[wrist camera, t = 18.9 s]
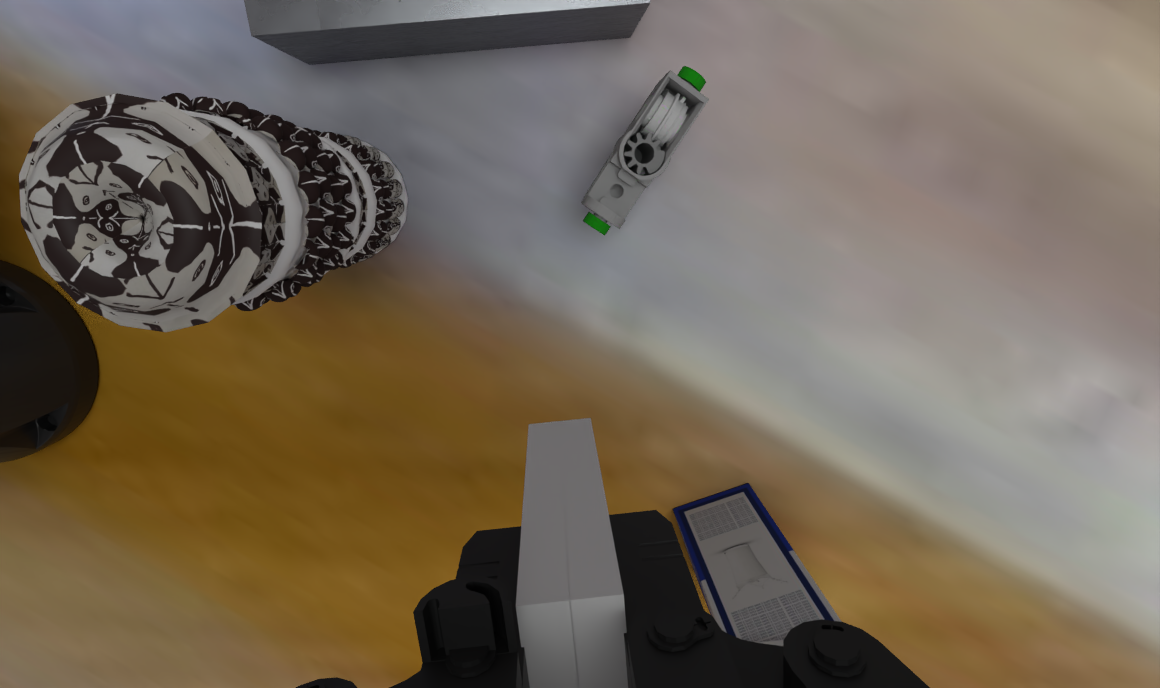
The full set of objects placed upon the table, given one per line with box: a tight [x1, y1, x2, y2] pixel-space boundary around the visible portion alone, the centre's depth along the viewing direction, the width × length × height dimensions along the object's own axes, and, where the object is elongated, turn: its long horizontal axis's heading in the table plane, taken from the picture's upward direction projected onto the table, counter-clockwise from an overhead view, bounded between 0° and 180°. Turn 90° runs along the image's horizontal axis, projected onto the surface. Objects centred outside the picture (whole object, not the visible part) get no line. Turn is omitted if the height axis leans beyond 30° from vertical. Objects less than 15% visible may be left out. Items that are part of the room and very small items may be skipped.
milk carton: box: [673, 483, 841, 646], centre depth 43 cm, size 7×7×20 cm
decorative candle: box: [19, 93, 408, 332], centre depth 32 cm, size 9×9×25 cm
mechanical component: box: [581, 66, 709, 235], centre depth 40 cm, size 3×10×10 cm, turn 146°
